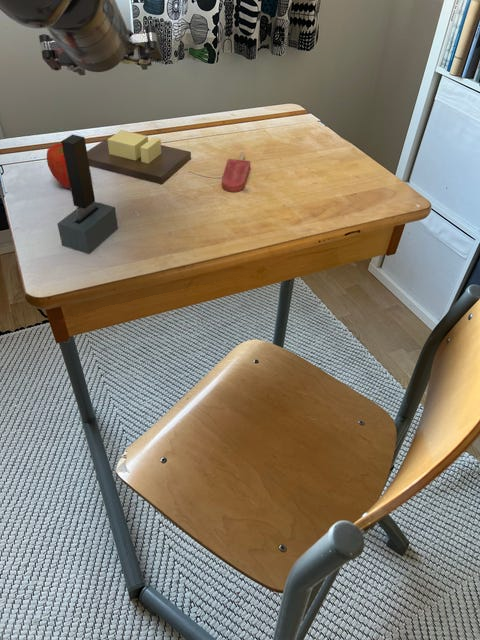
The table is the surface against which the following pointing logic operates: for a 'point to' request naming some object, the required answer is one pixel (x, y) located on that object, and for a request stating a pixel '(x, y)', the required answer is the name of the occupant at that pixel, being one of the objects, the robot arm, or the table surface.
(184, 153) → the butter board
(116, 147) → the butter block
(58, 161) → the apple
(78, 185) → the knife
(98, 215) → the knife stand
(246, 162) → the popsicle
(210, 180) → the table surface
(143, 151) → the butter slice
